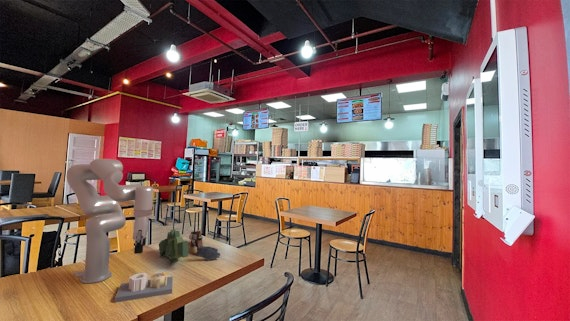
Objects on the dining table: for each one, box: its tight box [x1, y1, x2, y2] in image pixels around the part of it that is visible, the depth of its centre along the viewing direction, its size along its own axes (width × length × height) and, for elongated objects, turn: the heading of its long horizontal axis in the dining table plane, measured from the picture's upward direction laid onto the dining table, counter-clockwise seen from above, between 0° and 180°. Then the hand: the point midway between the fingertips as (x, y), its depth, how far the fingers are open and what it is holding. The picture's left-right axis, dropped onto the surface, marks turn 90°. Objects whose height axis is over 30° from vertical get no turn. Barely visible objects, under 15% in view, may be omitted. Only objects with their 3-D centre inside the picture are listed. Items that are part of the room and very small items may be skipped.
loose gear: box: [128, 272, 149, 292], centre depth 111 cm, size 7×7×5 cm
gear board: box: [114, 271, 174, 303], centre depth 112 cm, size 22×13×8 cm, turn 115°
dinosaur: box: [158, 229, 190, 263], centre depth 147 cm, size 35×12×19 cm, turn 42°
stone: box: [195, 245, 221, 262], centre depth 149 cm, size 14×6×10 cm, turn 130°
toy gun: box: [188, 230, 204, 253], centre depth 169 cm, size 5×28×15 cm, turn 32°
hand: (140, 249), depth 113 cm, fingers open, 9 cm apart
